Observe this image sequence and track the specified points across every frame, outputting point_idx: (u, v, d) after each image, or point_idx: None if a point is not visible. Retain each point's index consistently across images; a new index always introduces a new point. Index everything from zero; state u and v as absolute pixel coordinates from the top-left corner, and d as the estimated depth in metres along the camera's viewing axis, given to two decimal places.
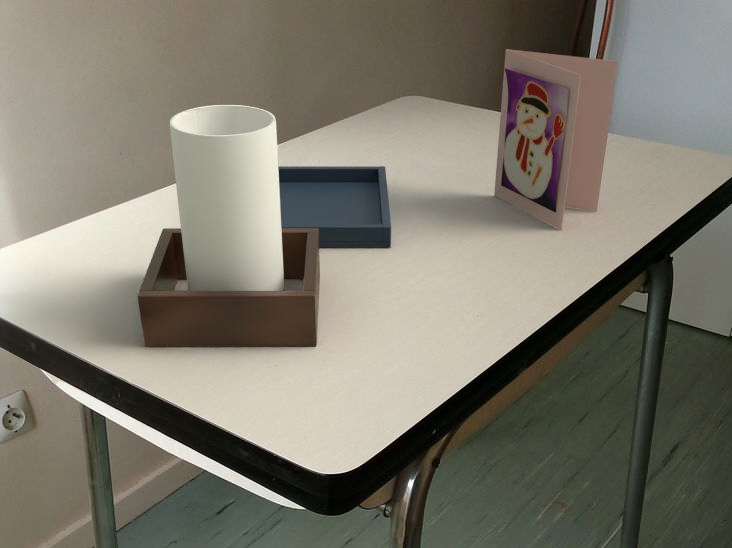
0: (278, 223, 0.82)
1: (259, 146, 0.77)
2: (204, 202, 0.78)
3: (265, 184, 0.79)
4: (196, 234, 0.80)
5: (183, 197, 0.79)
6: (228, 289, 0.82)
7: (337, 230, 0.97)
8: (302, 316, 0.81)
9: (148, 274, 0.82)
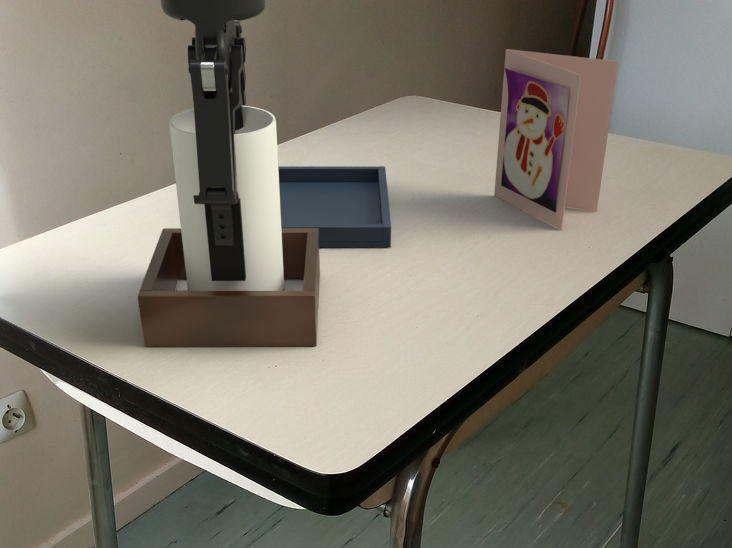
0: (278, 223, 0.82)
1: (259, 146, 0.77)
2: None
3: (265, 184, 0.79)
4: (196, 234, 0.80)
5: (183, 197, 0.79)
6: (228, 289, 0.82)
7: (337, 230, 0.97)
8: (302, 316, 0.81)
9: (148, 274, 0.82)
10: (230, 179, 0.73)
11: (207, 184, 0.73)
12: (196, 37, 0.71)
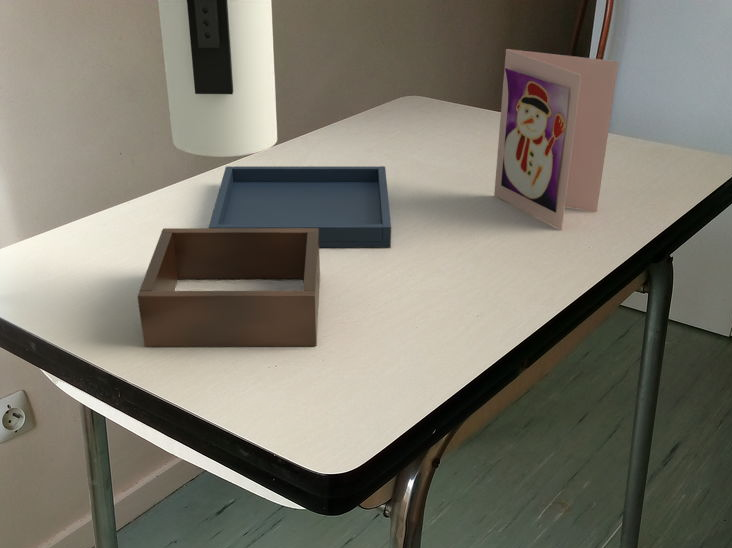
0: (269, 34, 0.74)
1: None
2: None
3: None
4: (178, 40, 0.72)
5: None
6: (214, 106, 0.74)
7: (337, 230, 0.97)
8: (302, 316, 0.81)
9: (148, 274, 0.82)
10: None
11: None
12: None
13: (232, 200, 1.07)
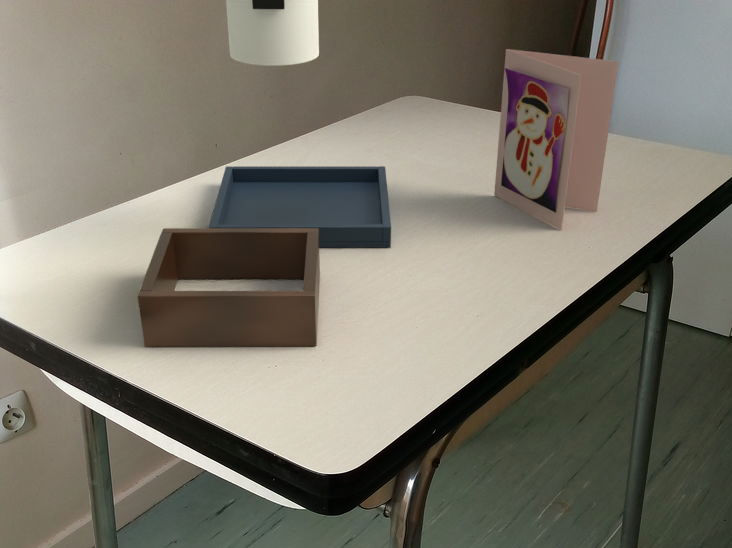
0: None
1: None
2: None
3: None
4: None
5: None
6: (268, 20, 0.88)
7: (337, 230, 0.97)
8: (302, 316, 0.81)
9: (148, 274, 0.82)
10: None
11: None
12: None
13: (232, 200, 1.07)
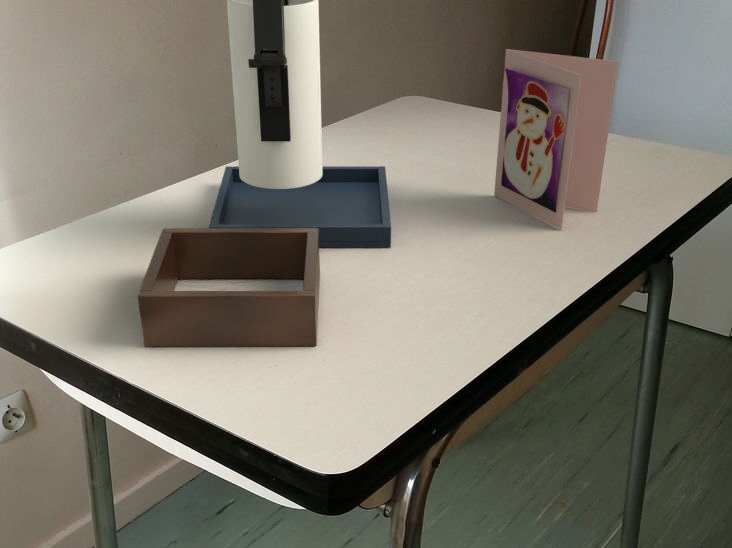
0: (318, 93, 0.94)
1: (305, 18, 0.89)
2: (256, 69, 0.90)
3: (309, 54, 0.91)
4: (248, 99, 0.92)
5: (237, 66, 0.91)
6: (275, 150, 0.94)
7: (337, 230, 0.97)
8: (302, 316, 0.81)
9: (148, 274, 0.82)
10: (281, 42, 0.85)
11: (261, 46, 0.86)
12: None
13: (232, 200, 1.07)
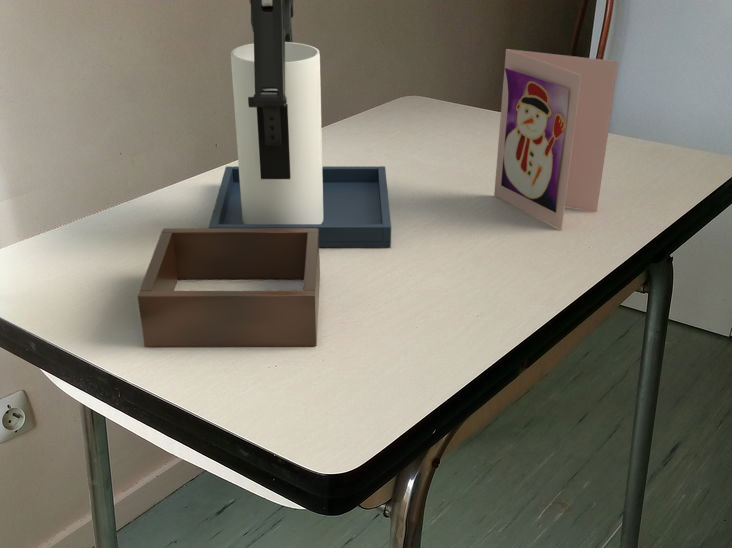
0: (320, 142, 0.97)
1: (306, 73, 0.91)
2: None
3: (310, 106, 0.93)
4: (251, 150, 0.95)
5: (241, 118, 0.94)
6: (277, 198, 0.97)
7: (337, 230, 0.97)
8: (302, 316, 0.81)
9: (148, 274, 0.82)
10: (281, 81, 0.85)
11: (261, 85, 0.85)
12: None
13: (232, 200, 1.07)
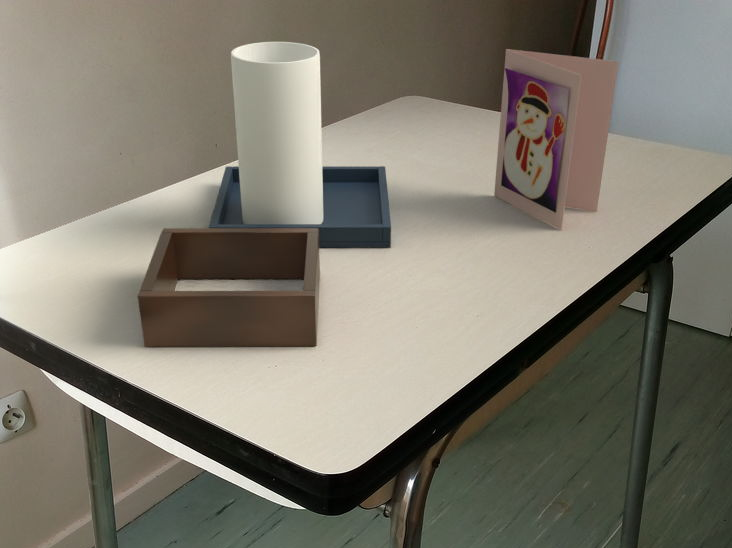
0: (320, 142, 0.97)
1: (306, 73, 0.91)
2: (259, 121, 0.93)
3: (310, 106, 0.93)
4: (251, 150, 0.95)
5: (241, 118, 0.94)
6: (277, 198, 0.97)
7: (337, 230, 0.97)
8: (302, 316, 0.81)
9: (148, 274, 0.82)
10: None
11: None
12: None
13: (232, 200, 1.07)
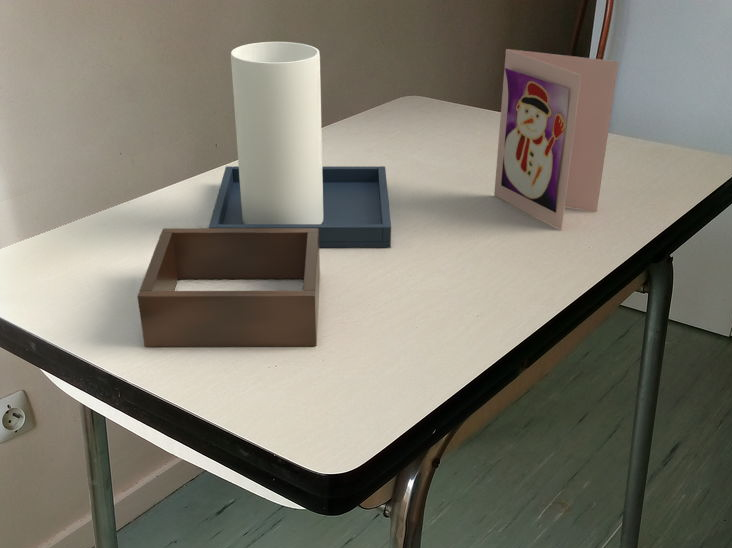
0: (320, 142, 0.97)
1: (306, 73, 0.91)
2: (259, 121, 0.93)
3: (310, 106, 0.93)
4: (251, 150, 0.95)
5: (241, 118, 0.94)
6: (277, 198, 0.97)
7: (337, 230, 0.97)
8: (302, 316, 0.81)
9: (148, 274, 0.82)
10: None
11: None
12: None
13: (232, 200, 1.07)
